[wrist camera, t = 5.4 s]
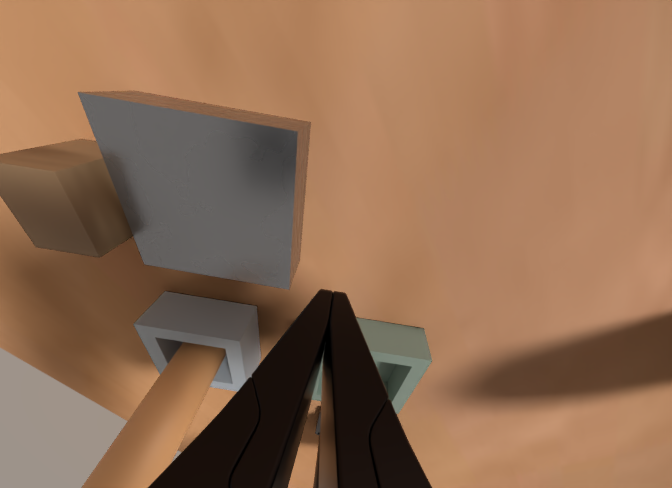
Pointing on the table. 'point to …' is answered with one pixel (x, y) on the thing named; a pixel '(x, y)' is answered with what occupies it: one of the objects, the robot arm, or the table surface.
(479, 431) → the table surface
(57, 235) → the block
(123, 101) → the grey slab
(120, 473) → the dowel
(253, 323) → the socket block
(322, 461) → the robot arm
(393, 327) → the tray
